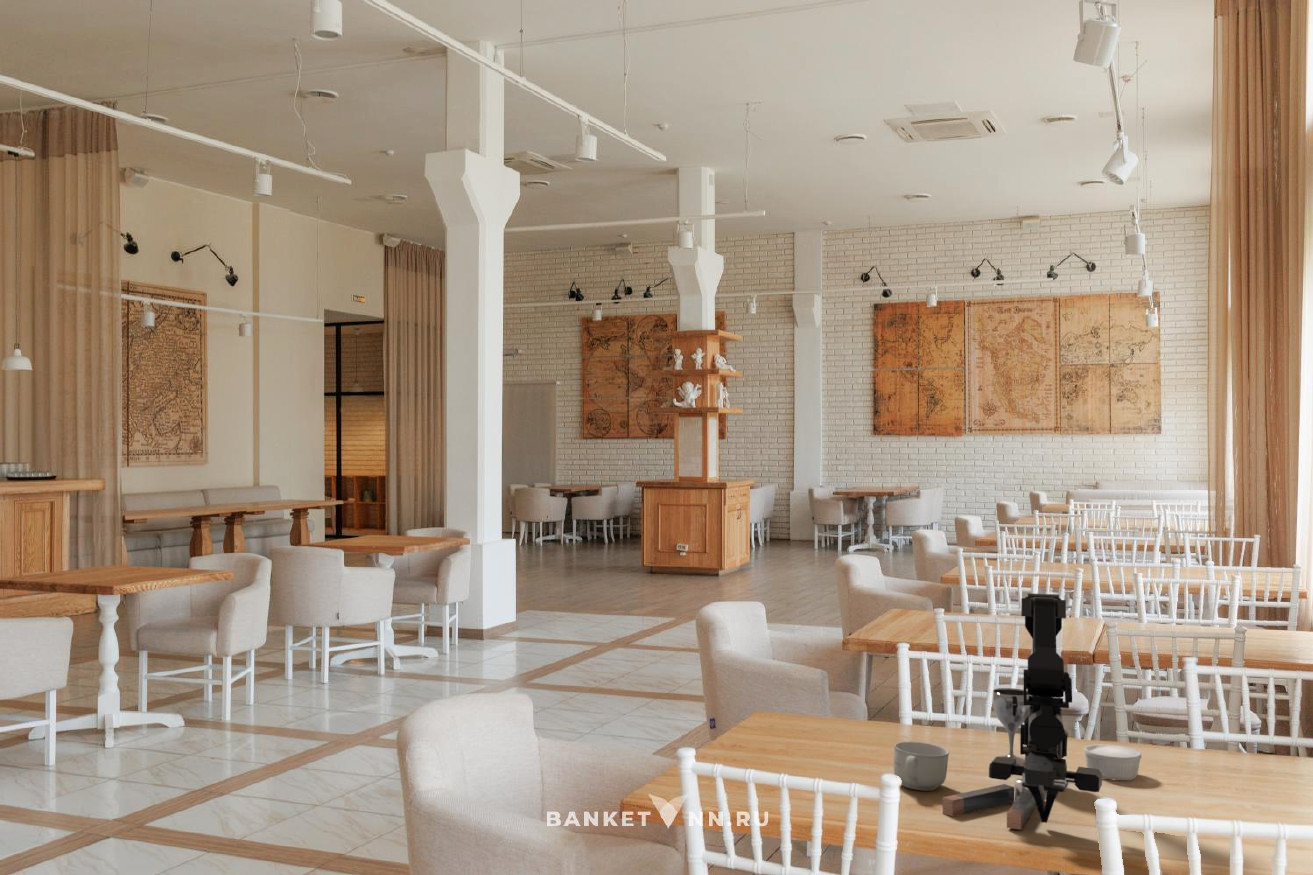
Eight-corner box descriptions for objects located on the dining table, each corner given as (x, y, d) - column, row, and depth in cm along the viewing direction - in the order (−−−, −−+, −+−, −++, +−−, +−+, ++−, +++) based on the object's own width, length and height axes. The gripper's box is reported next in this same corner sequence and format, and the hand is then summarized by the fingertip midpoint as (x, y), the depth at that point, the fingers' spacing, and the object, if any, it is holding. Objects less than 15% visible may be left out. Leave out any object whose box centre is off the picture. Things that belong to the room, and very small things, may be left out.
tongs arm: (1023, 802, 220) (1023, 788, 220) (1036, 804, 219) (1036, 790, 219) (1006, 827, 205) (1006, 812, 205) (1020, 829, 204) (1020, 814, 204)
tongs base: (1024, 794, 227) (1024, 774, 227) (1047, 801, 222) (1047, 780, 222) (942, 813, 214) (942, 791, 214) (964, 821, 210) (964, 798, 210)
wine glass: (1038, 762, 251) (1038, 693, 251) (1008, 766, 248) (1008, 696, 248) (1014, 753, 258) (1014, 687, 258) (985, 757, 255) (985, 689, 256)
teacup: (908, 776, 239) (909, 737, 239) (957, 786, 232) (958, 746, 232) (876, 790, 228) (876, 750, 229) (926, 801, 222) (926, 759, 222)
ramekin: (1089, 765, 250) (1089, 741, 250) (1144, 773, 244) (1145, 748, 244) (1079, 777, 240) (1079, 752, 240) (1136, 785, 234) (1136, 759, 234)
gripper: (983, 737, 203) (982, 826, 203) (1095, 751, 195) (1095, 843, 195) (995, 724, 213) (994, 809, 213) (1102, 737, 205) (1102, 825, 205)
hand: (1044, 821), depth 206 cm, fingers closed
